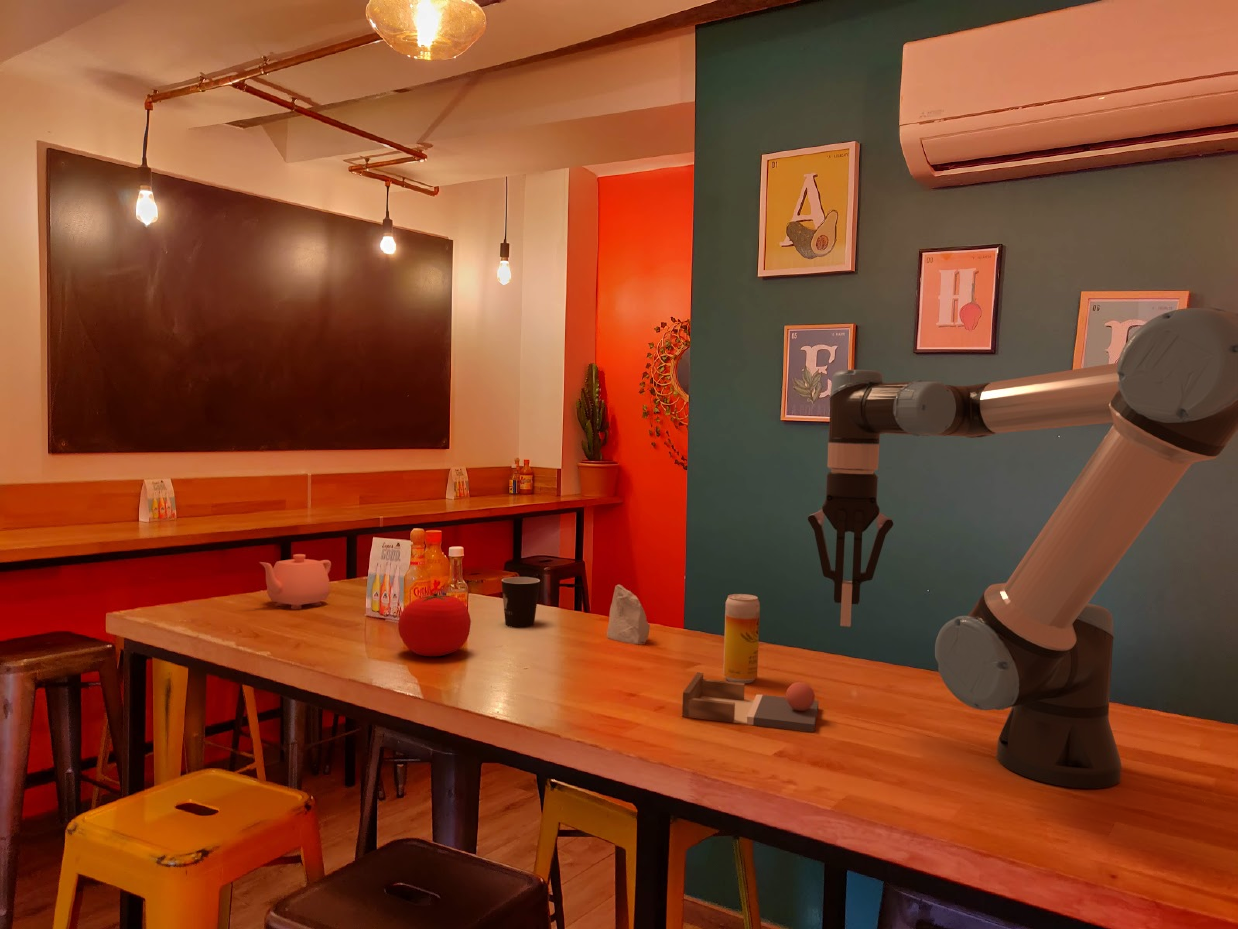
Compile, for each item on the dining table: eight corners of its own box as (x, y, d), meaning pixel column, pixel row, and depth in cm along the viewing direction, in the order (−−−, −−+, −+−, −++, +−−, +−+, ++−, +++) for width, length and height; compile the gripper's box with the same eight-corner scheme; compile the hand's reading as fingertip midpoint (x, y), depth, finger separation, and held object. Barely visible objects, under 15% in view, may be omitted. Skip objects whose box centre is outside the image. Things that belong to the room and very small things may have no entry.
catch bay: (744, 700, 145) (744, 677, 145) (733, 722, 134) (734, 698, 134) (696, 694, 147) (697, 672, 147) (682, 716, 136) (682, 692, 136)
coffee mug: (536, 629, 192) (537, 584, 191) (497, 628, 192) (498, 583, 191) (542, 618, 203) (543, 575, 203) (505, 617, 203) (506, 574, 203)
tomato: (449, 665, 161) (450, 602, 160) (385, 657, 165) (386, 596, 165) (482, 649, 173) (483, 591, 173) (421, 642, 177) (423, 585, 177)
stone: (651, 643, 183) (653, 588, 182) (632, 646, 179) (635, 590, 179) (619, 633, 190) (621, 580, 190) (601, 636, 187) (603, 582, 187)
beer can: (756, 685, 154) (759, 601, 153) (721, 682, 155) (724, 598, 155) (757, 676, 160) (760, 594, 159) (724, 673, 161) (727, 592, 160)
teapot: (241, 608, 205) (242, 556, 204) (312, 595, 222) (313, 548, 221) (277, 616, 198) (278, 562, 197) (348, 602, 214) (348, 553, 214)
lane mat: (818, 708, 142) (818, 701, 142) (813, 732, 130) (814, 724, 130) (696, 694, 147) (697, 687, 147) (682, 716, 136) (682, 709, 136)
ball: (820, 712, 136) (821, 684, 136) (800, 716, 134) (801, 688, 134) (799, 704, 140) (800, 677, 140) (779, 708, 137) (780, 680, 137)
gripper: (896, 472, 135) (889, 623, 136) (810, 468, 139) (804, 615, 140) (897, 474, 128) (890, 633, 129) (807, 470, 132) (800, 625, 133)
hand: (845, 624), depth 135 cm, fingers closed
